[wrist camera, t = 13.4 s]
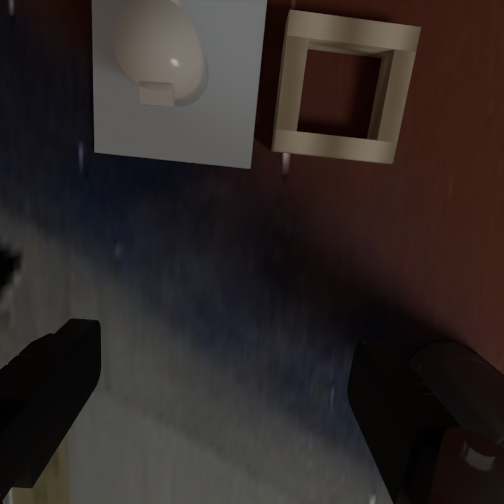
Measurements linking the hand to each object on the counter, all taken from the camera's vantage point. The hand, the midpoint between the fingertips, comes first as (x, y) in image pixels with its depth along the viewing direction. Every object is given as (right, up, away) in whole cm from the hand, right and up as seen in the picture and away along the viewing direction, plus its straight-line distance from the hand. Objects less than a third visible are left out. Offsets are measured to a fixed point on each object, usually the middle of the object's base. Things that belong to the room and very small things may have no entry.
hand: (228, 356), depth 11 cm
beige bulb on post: (-6, +22, +22) cm, 32 cm away
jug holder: (+9, +19, +24) cm, 32 cm away
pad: (-7, +21, +23) cm, 32 cm away
